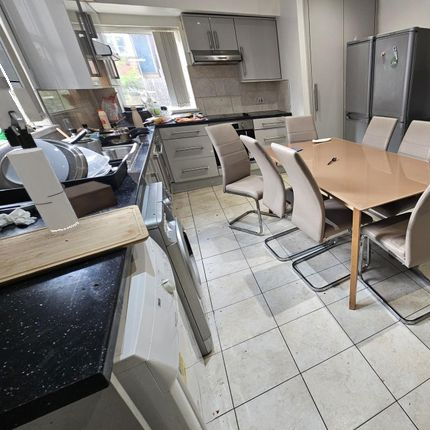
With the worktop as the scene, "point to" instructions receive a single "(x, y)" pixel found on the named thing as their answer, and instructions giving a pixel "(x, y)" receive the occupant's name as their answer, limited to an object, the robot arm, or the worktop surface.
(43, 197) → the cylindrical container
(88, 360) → the worktop surface
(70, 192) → the lid
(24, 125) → the robot arm
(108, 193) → the chest
